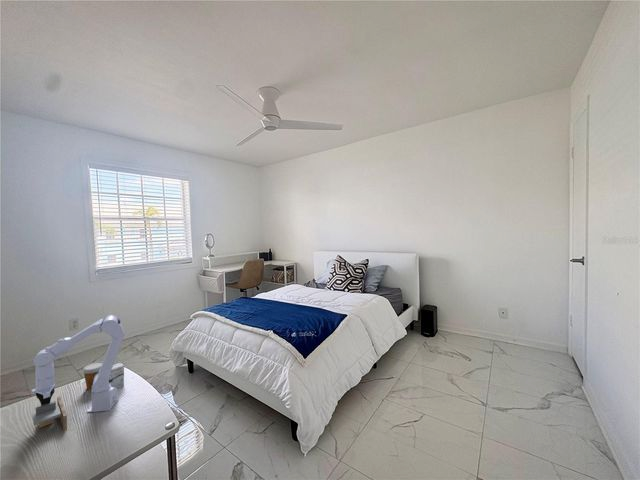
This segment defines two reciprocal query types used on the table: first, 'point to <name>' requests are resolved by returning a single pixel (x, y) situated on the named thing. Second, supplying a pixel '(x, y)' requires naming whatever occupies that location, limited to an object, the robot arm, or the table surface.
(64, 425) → the walnut track wall
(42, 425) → the letter cube
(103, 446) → the table surface
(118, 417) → the table surface
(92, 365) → the disposable coffee cup
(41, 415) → the slate cover
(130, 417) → the table surface
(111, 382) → the ink box
